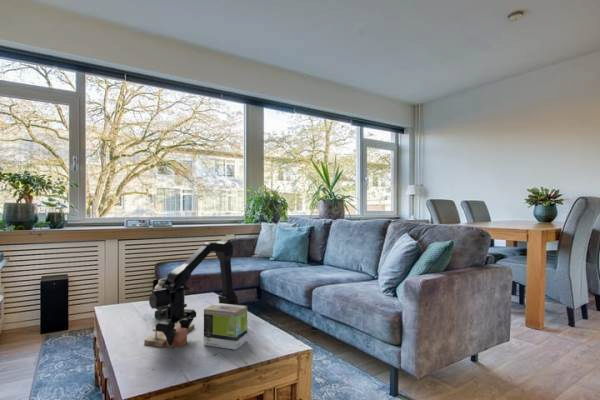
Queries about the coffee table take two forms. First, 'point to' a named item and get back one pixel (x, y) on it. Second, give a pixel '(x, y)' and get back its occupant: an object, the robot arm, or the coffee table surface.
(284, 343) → the coffee table surface
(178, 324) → the board
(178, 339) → the terracotta strapped cube
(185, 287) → the robot arm
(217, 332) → the tea box
